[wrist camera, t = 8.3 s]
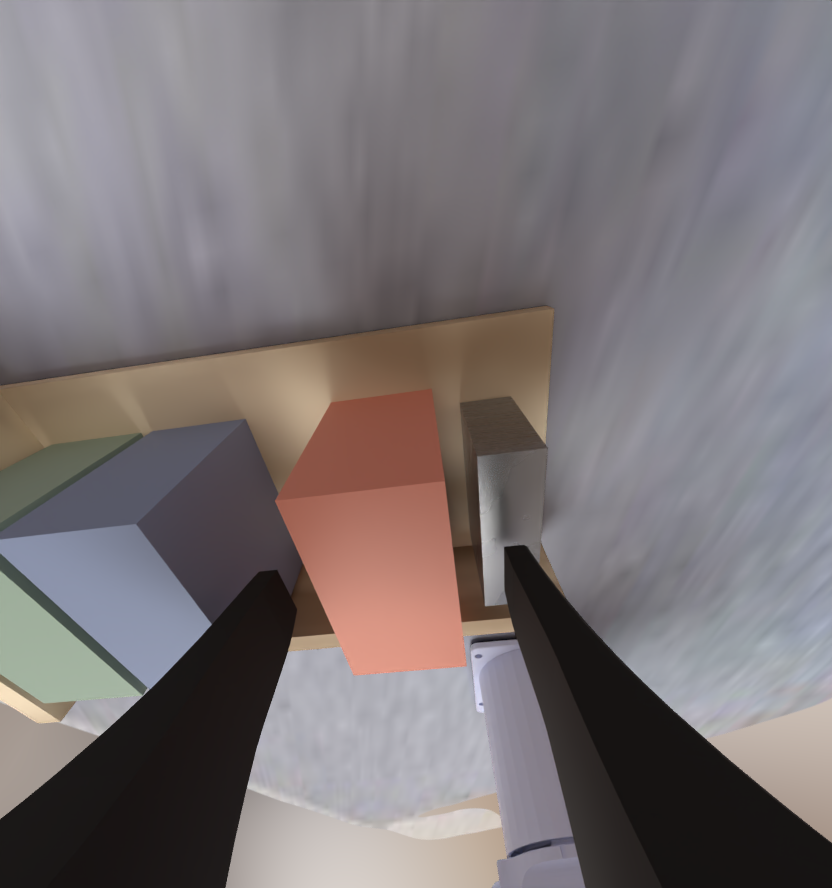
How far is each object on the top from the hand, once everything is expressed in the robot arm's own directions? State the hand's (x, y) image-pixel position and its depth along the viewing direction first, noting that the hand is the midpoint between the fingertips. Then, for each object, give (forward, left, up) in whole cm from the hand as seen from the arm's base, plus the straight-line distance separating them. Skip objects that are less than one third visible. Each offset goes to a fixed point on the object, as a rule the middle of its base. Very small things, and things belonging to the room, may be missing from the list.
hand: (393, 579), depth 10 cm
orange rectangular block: (0, 0, -5) cm, 5 cm away
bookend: (0, -4, -5) cm, 6 cm away
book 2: (0, +8, -5) cm, 9 cm away
